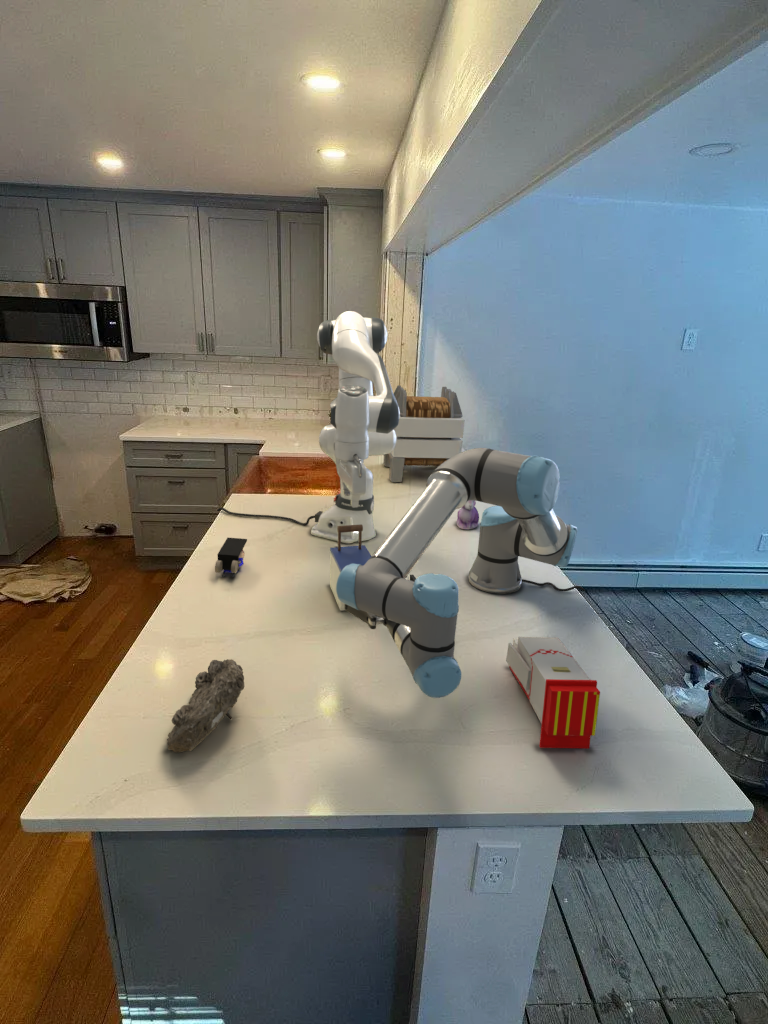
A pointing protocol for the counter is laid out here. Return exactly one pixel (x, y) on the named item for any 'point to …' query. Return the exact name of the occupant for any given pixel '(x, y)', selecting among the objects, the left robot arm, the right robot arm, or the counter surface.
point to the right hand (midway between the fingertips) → (381, 582)
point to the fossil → (206, 705)
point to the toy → (555, 691)
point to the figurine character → (230, 556)
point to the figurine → (468, 516)
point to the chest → (335, 580)
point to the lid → (350, 549)
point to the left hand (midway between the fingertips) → (350, 500)
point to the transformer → (425, 431)
